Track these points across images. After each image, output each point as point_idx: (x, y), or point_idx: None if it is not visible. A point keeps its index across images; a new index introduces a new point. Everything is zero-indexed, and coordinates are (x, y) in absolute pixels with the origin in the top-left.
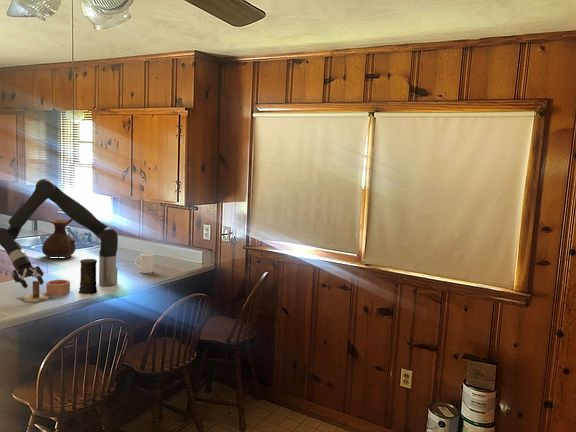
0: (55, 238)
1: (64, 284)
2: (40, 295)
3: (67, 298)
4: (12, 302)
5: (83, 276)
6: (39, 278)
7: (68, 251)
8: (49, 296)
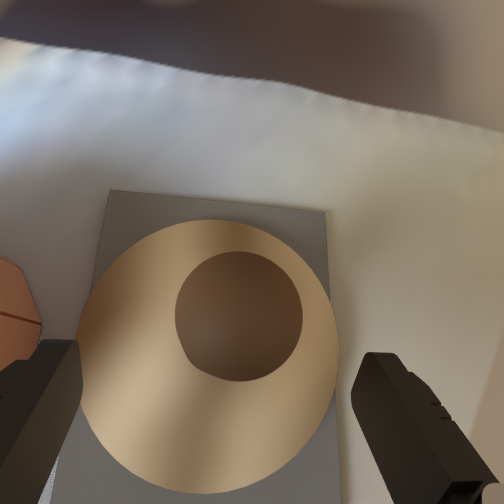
0: None
1: None
2: (150, 349)
3: (37, 144)
4: None
5: None
6: (15, 459)
7: None
8: (92, 288)
